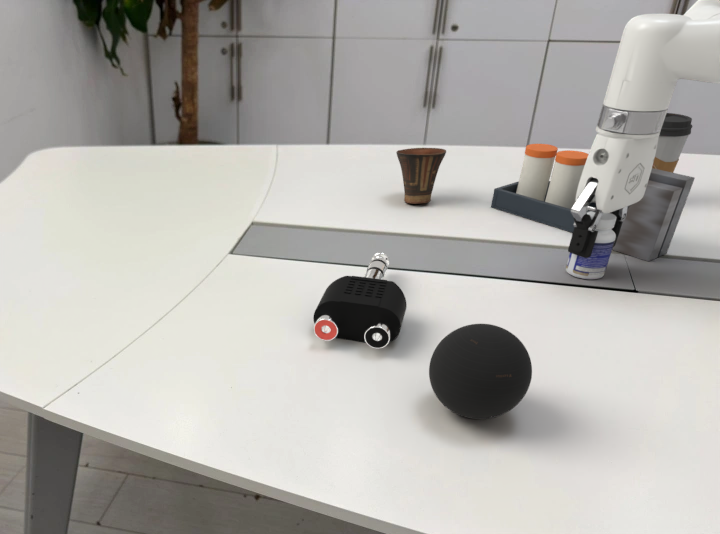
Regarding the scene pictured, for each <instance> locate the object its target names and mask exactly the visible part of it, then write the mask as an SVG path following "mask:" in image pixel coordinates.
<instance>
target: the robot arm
mask: <svg viewBox="0 0 720 534" xmlns="http://www.w3.org/2000/svg"><path fill="white" fill-rule="evenodd" d="M624 26H625V27H624V28H623V31H622V34H621V36H620V37H621V38H620V42H619V44H618V45H619V46H618V49H617V51H616V55H615V59H614V63H613V66H612V70H611V73H610V77H609V81H608V84H607V87H606V92H605V95H604V98H603V101H602V105H601V109H600V113H599V117H598V120H597V123H596V126H595V132H597V133H596V135H595V138H594V140H593V142H592V145H591V147H590V150H589V153H588V154H589V155H588V157H587V160H586V163H585V166H584V169H583V172H582V175H581V178H580V182H579V185H578V189H577V193H576V199H575V204H574V205H573V207H572V209H571V214H572V215H573V217H574V224H573V226H574V231H573V233H572V235H571V239H570V242H569V245H568V248H567V250H568V253H569V254H570V253H572V254H575V255H578V256H581V257H584V258H588V257H590V256H591V254H592V250H593V247H594V244H595V241H596V237H597V234H598V231H596V228H597V226H598V223H599V221H600V219H601V217H602V215H603V213H611V214H614V215H615V216H616V217H617V218H616V222H615V225H614V228H612V229H611V230H613V231H614V232H615V234H616V238H615V242H614V245H613V247H614V246H615V245H616V241H617V238H618V235H619V232H620V229H621V226H622V223H623V222H622V221H623V220H624V219H625V218H626V215H627V209H628V208H629V206H631V205H632V204H634V203H637V202H638V201H640V200H641V199H642V198H643V196H644V193H645V190H646V187H647V184H648V180H649V177H650V173H651V170H652V166H653V162H654V158H655V154H656V149H657V144H658V138H659V135H660V131H661V128H662V125H663V122H664V119H665V116H666V113H668V110H669V107H670V104H671V101H672V98H673V95H674V92H675V90H676V86H677V83H678V81H679V80H687V81H695V82H699V83H700V82H702V83H707V84H716V85H719V84H720V0H696V1H695V2H694V3H693V4H692V5H691V6H690V7H689V9H687V10H686V11H685V13H684V14H676V13H644V14H639V15H636V16H634V17H632V18H630V19H629V20H628V21H627V22H626V24H625V25H624ZM592 202H593V203H596V207H597V208H595V207H592V206H589V204H590V203H592ZM587 211H592V212H595V214H594V217H593V219H592V220H591V217H590V215H588V214H587ZM620 220H621V221H620Z"/></svg>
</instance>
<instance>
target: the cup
mask: <svg viewBox="0 0 720 534" xmlns="http://www.w3.org/2000/svg"><path fill="white" fill-rule="evenodd" d="M446 154H447V149H444V148H440V147H411V148H404V149H399V150H397V151H396V157H397V159H398V162H399V165H400V169H401V176H402V180H403V181H402V183H403V190H404V199H403V201H404V203H406V204H411V205H412V204H414V205H417V204H418V205H419V204H427V203H429V202H431V199H432V193H433V190H434V185H435V182H436V178H437V175H438V172H439V169H440V167H441V164H442V162H443V160H444V158H445V157H446Z"/></svg>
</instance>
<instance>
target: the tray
mask: <svg viewBox="0 0 720 534" xmlns="http://www.w3.org/2000/svg"><path fill="white" fill-rule="evenodd" d="M518 183H519V180H518V181H515V182H512V183H509V184H505V185H502V186H500V187H496V188H494V190H493V193H492V194H493V195H492V199H491V202H490V203H491V204H490V208H493V209H496V210H498V211H502V212H505V213H508V214H512V215H514V216H518V217H520V218H524V219H527V220H531V221H534V222H536V223H540V224H543V225H547V226H550V227H553V228H557V229H559V230H563V231H565V232H569V233H572V234H573V231H574V226H573V224H574V217H573V215H572V214H571V209H569V208H565V207H562V206H558V205H555V204H551V203H548V202H545V200H546V196H547V192H548V188H549V184H550V180H549V183H548V187H547V191H546V195H545V199H544V201H541V200H537V199H534V198H530V197H527V196H523V195H520V194H516V191H517V187H518ZM589 206H592V207H595V208H597V207H596V203H593V202H592V203H590V204H589ZM587 212H591V211H587Z"/></svg>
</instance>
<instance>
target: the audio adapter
mask: <svg viewBox="0 0 720 534" xmlns="http://www.w3.org/2000/svg"><path fill="white" fill-rule="evenodd" d="M370 259H371V260H370V262H369V263H368V266H367V268H366V270H365V273H364V275H363V276H357V275H343V276H341V277H339V278H337V279H335V280H333V281H332V282H331V283H330V284H329V285H328V286H327V287H326V289H325V290H324V293H323V294H322V296H321V299H320V300H319V303H318V305H317V306H316V308H315V310H314V312H313V324H314V325H313V332H314V335H315V336H316V337H317V338H318V339H320V340H322V341H325V342H330V341H332V340H334V339H341V340H345V341H347V340H348V341H353V342H354V341H355V342H359V343H360V342H361V343H366V345H368V347H370V348H372V349H377V350H378V349H383V348H385V347H387V346H388V345H389V344H390V343H392V342H393V341H395V340H396V339H397V337H398V336H399V335H400V333H401V328H402V325H403V322H404V319H405V318H404V317H405V315H406V311H407V299H406V296H405V294H404V292H403V290H402V289H401V287H400V286H399V285H398V284H397V283H396V282H395V281H393V280H388V279H385V276H386V274H387V271H388V267H389V265H390V263H391V261H390V257H389V255H388V254H386V253H385V252H376V253H374V254H373V255H372V257H371V258H370Z"/></svg>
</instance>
